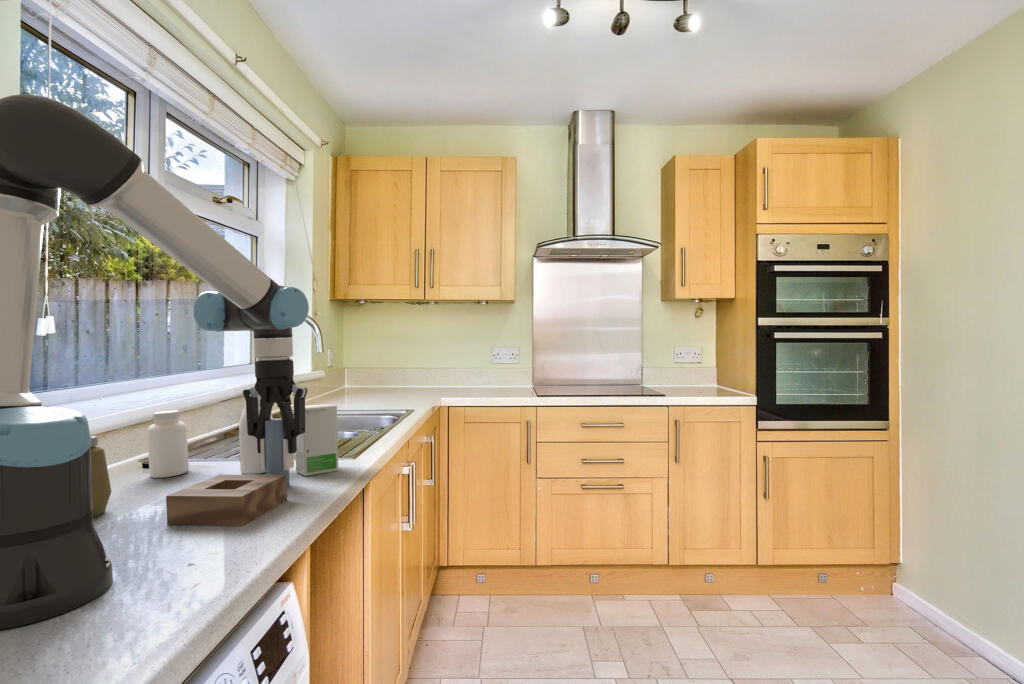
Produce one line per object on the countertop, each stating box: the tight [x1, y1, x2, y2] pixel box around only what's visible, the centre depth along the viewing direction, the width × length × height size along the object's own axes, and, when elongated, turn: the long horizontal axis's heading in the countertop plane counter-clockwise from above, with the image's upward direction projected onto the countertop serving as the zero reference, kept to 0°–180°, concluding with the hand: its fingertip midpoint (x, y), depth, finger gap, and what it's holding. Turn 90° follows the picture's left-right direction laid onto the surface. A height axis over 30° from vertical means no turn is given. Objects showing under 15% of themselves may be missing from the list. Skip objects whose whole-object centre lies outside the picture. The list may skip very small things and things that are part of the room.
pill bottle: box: [146, 409, 189, 479], centre depth 129 cm, size 8×8×15 cm
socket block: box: [165, 473, 288, 527], centre depth 99 cm, size 14×14×5 cm
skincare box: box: [295, 403, 339, 477], centre depth 128 cm, size 8×7×16 cm
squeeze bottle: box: [91, 435, 112, 517], centre depth 100 cm, size 8×8×18 cm
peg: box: [265, 417, 290, 487], centre depth 115 cm, size 4×4×14 cm
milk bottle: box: [238, 387, 274, 475], centre depth 129 cm, size 8×8×20 cm
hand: (277, 468), depth 115 cm, fingers closed on peg, 4 cm apart
